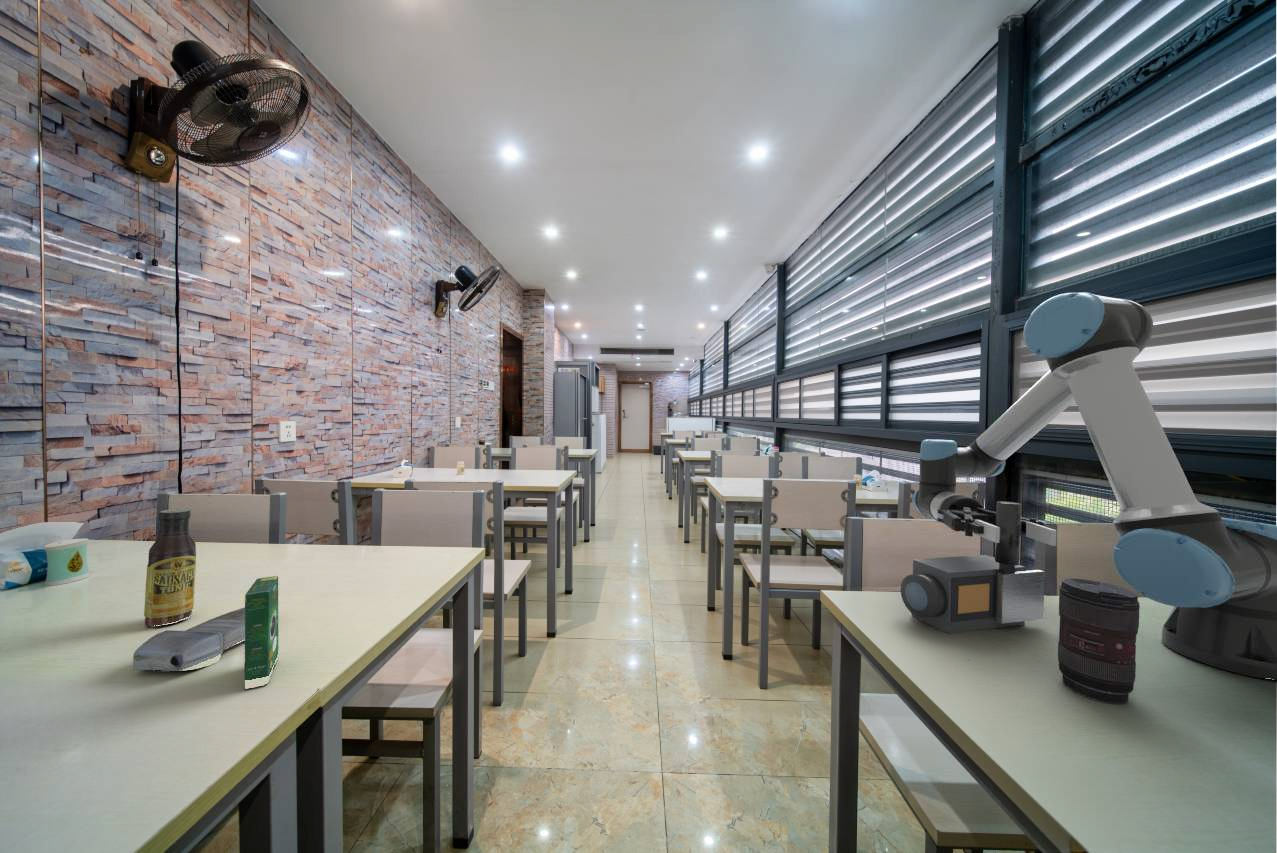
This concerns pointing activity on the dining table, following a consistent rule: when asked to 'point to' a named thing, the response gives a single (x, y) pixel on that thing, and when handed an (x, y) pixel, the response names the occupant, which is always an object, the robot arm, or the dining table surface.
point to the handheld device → (190, 644)
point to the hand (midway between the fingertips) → (1025, 536)
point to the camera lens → (1098, 639)
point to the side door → (1015, 588)
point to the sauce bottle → (171, 570)
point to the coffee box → (261, 628)
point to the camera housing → (955, 592)
